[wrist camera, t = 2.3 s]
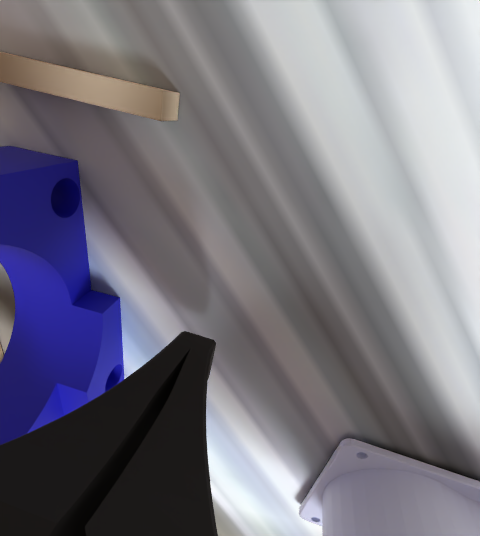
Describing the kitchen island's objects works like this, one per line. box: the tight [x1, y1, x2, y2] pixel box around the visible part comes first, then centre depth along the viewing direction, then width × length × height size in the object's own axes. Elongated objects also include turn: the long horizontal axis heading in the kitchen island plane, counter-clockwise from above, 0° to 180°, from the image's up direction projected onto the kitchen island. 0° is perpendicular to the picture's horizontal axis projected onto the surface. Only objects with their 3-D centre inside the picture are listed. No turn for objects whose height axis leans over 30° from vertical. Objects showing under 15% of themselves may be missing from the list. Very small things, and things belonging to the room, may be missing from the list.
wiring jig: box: [0, 52, 180, 363], centre depth 12 cm, size 11×18×4 cm, turn 169°
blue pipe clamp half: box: [0, 146, 124, 445], centre depth 12 cm, size 12×4×6 cm, turn 171°
